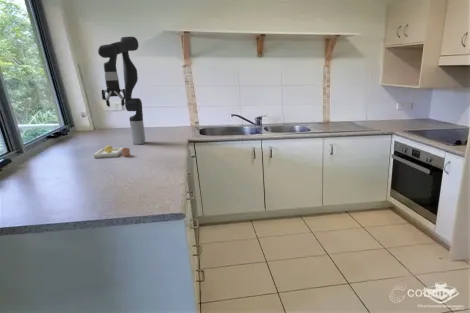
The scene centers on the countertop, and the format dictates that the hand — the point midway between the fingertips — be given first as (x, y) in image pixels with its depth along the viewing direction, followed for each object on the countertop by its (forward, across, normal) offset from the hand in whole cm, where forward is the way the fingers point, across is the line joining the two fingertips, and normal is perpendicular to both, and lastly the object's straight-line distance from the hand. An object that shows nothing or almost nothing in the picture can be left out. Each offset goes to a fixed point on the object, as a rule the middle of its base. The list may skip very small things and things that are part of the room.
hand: (115, 106), depth 176 cm
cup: (+30, -5, +11) cm, 32 cm away
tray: (+30, +7, +5) cm, 31 cm away
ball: (+27, +7, +5) cm, 28 cm away
